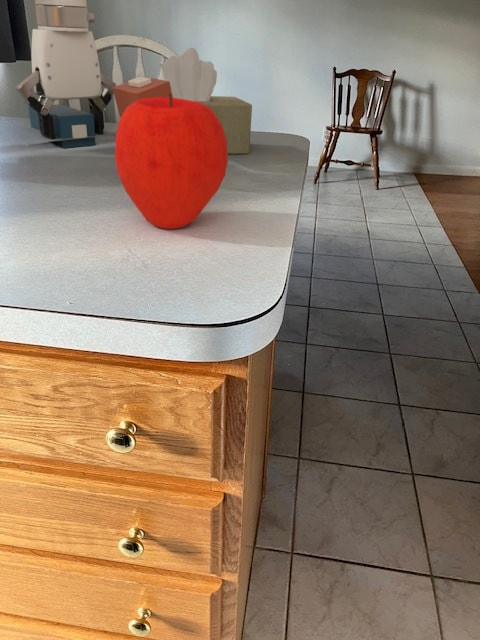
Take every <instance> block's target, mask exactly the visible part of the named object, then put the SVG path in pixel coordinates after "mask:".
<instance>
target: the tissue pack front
mask: <svg viewBox="0 0 480 640" xmlns="http://www.w3.org/2000/svg"><path fill="white" fill-rule="evenodd" d="M112 89H113V96H114V100H115V103H116V108H117V111H118V114H119V119H120V118H121V116H122V115H123V113H124V111H125V110H126V108H127V107H128V106H129V105H131V104H132V103H134V102H136V101H137V100H139V99H143V98H150V97H169V94H172V91H171V87H170V82H169V81H166V80H165V79H158V78H155V77H150V76H149V77H148V76H137V77H135V78H132V79H130V80H127V81H126V82H124V83H120V84H118V85H116V86H115V87H113V88H112ZM172 98H173V96H172Z"/></svg>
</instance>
